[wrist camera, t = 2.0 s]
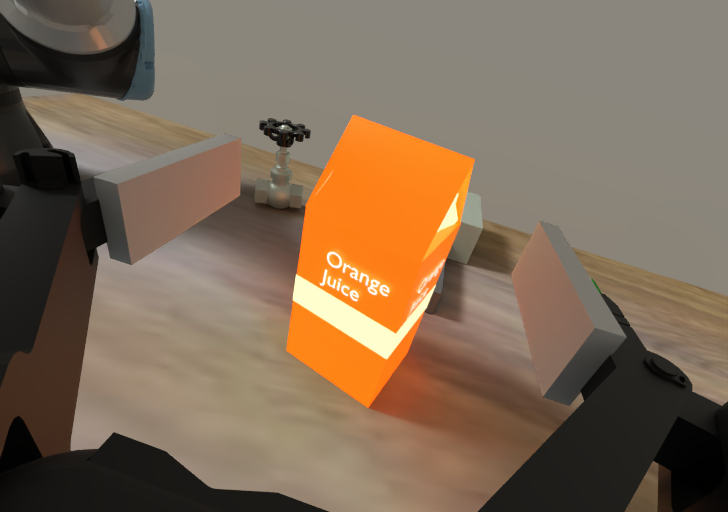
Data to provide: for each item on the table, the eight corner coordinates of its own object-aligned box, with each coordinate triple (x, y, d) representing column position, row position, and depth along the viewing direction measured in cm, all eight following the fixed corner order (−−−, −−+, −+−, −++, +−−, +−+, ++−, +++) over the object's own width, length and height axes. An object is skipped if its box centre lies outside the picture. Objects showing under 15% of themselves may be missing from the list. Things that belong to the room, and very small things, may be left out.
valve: (259, 194, 55) (263, 114, 48) (301, 200, 56) (311, 124, 50) (252, 213, 49) (255, 127, 43) (299, 220, 51) (309, 137, 44)
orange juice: (335, 308, 37) (380, 111, 26) (408, 352, 34) (493, 150, 23) (284, 351, 31) (314, 118, 20) (367, 410, 28) (456, 173, 17)
